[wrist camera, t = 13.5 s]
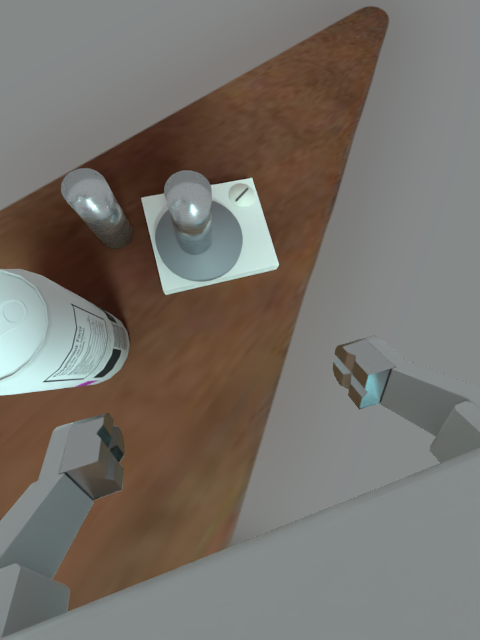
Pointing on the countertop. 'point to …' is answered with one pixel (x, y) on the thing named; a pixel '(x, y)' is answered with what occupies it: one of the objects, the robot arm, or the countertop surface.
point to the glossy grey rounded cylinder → (190, 210)
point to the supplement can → (54, 336)
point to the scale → (213, 240)
